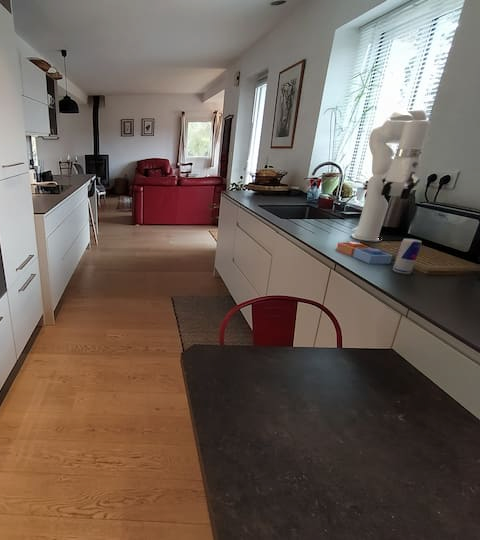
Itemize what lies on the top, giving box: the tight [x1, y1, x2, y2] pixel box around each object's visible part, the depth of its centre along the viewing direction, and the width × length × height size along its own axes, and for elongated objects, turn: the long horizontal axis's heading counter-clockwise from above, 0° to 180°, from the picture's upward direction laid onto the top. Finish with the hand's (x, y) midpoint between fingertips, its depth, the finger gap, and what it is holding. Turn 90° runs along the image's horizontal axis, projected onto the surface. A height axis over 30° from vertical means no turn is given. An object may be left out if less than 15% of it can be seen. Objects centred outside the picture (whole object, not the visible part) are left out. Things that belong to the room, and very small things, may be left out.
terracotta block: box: [346, 241, 364, 248], centre depth 140 cm, size 4×4×4 cm
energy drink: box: [392, 237, 423, 275], centre depth 117 cm, size 5×5×12 cm
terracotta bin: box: [336, 241, 372, 257], centre depth 141 cm, size 9×9×3 cm
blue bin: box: [352, 249, 394, 265], centre depth 131 cm, size 9×9×3 cm
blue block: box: [365, 247, 384, 255], centre depth 131 cm, size 4×4×4 cm
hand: (394, 197), depth 136 cm, fingers open, 9 cm apart
